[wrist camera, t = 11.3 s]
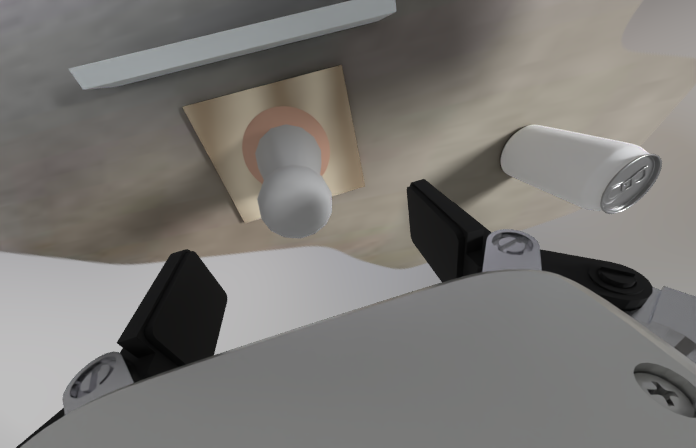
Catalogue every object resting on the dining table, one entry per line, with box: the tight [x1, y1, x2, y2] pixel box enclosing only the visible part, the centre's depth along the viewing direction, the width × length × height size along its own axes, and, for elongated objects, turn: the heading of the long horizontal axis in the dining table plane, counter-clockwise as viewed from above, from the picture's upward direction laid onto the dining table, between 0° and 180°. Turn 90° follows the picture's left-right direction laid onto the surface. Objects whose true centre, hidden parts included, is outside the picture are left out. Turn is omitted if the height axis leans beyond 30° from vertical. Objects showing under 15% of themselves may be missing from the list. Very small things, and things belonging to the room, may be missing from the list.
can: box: [500, 125, 662, 214], centre depth 27 cm, size 6×6×12 cm
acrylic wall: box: [69, 0, 396, 90], centre depth 19 cm, size 22×1×4 cm, turn 102°
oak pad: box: [183, 65, 365, 223], centre depth 25 cm, size 14×12×1 cm
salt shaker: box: [255, 124, 332, 238], centre depth 19 cm, size 6×6×13 cm
